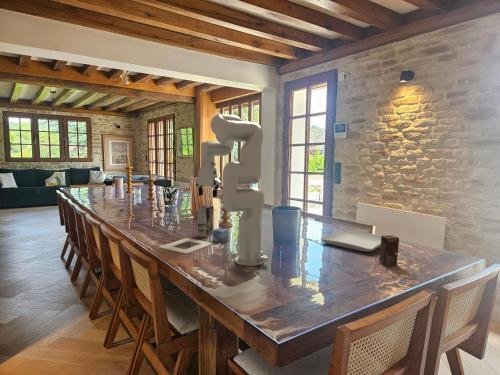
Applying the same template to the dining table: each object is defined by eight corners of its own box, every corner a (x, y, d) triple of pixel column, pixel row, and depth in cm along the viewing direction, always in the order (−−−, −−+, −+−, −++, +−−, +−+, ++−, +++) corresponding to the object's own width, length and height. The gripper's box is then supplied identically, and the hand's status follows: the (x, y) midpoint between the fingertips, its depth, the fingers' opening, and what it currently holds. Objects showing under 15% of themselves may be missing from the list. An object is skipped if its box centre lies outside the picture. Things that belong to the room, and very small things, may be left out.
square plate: (392, 245, 171) (392, 237, 170) (370, 256, 151) (371, 248, 150) (344, 235, 189) (344, 229, 189) (319, 244, 169) (319, 237, 169)
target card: (213, 243, 166) (213, 243, 166) (186, 253, 149) (186, 253, 149) (186, 238, 175) (186, 237, 175) (158, 247, 158) (158, 246, 158)
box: (385, 266, 137) (387, 238, 136) (378, 262, 141) (380, 235, 140) (398, 265, 138) (399, 237, 137) (391, 262, 143) (392, 234, 141)
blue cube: (228, 240, 174) (228, 229, 173) (221, 242, 168) (221, 231, 168) (219, 238, 177) (219, 227, 176) (212, 241, 172) (212, 229, 171)
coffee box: (208, 237, 179) (208, 208, 177) (197, 236, 180) (197, 207, 178) (213, 233, 187) (214, 205, 186) (203, 232, 189) (203, 205, 187)
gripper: (224, 165, 177) (224, 196, 179) (199, 164, 186) (199, 194, 188) (216, 165, 171) (216, 198, 172) (190, 164, 179) (190, 195, 181)
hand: (207, 196), depth 180 cm, fingers open, 9 cm apart
